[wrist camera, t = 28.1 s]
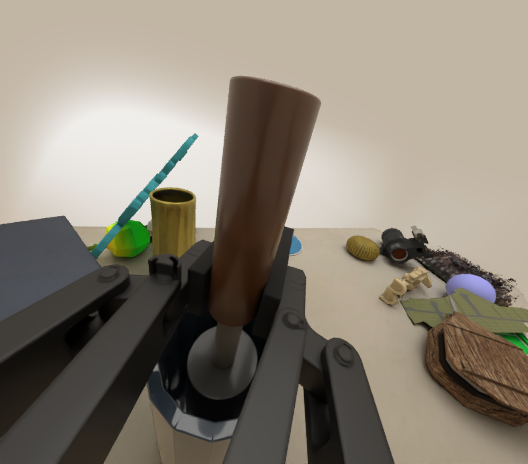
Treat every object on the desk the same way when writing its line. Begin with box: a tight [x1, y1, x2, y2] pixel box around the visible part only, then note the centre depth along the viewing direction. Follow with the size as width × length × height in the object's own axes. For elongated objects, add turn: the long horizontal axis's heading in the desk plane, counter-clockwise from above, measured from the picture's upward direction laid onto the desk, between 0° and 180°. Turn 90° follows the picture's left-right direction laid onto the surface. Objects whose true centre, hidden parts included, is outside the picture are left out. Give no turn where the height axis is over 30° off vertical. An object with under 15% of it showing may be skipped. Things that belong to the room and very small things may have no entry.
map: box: [400, 288, 528, 333], centre depth 34 cm, size 11×18×1 cm, turn 78°
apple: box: [87, 220, 150, 257], centre depth 31 cm, size 7×6×9 cm
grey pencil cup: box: [147, 305, 267, 464], centre depth 14 cm, size 8×8×13 cm
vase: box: [149, 188, 196, 258], centre depth 27 cm, size 6×6×14 cm
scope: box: [380, 226, 433, 263], centre depth 52 cm, size 8×14×10 cm
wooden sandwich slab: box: [426, 296, 528, 426], centre depth 26 cm, size 12×16×5 cm
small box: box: [0, 216, 102, 321], centre depth 17 cm, size 13×7×12 cm, turn 53°
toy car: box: [492, 332, 528, 356], centre depth 29 cm, size 12×5×4 cm
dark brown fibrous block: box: [415, 249, 523, 307], centre depth 48 cm, size 20×12×6 cm, turn 13°
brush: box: [186, 76, 321, 422], centre depth 10 cm, size 4×4×20 cm
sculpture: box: [346, 236, 380, 260], centre depth 50 cm, size 8×4×8 cm
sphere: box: [446, 274, 496, 303], centre depth 39 cm, size 7×7×7 cm
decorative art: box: [91, 134, 198, 259], centre depth 33 cm, size 21×1×30 cm
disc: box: [289, 235, 303, 256], centre depth 48 cm, size 12×1×12 cm
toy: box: [379, 266, 432, 305], centre depth 38 cm, size 6×4×15 cm
